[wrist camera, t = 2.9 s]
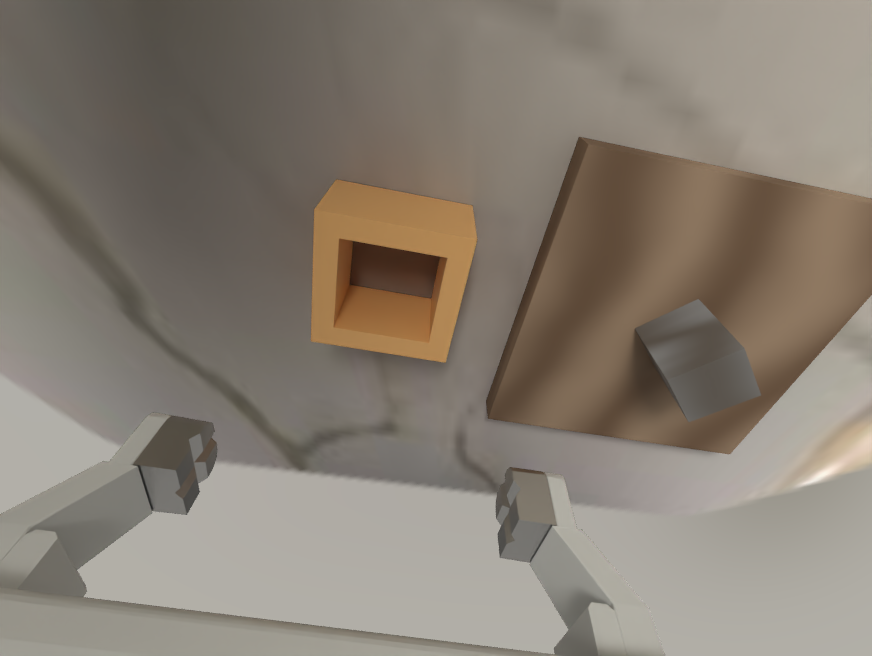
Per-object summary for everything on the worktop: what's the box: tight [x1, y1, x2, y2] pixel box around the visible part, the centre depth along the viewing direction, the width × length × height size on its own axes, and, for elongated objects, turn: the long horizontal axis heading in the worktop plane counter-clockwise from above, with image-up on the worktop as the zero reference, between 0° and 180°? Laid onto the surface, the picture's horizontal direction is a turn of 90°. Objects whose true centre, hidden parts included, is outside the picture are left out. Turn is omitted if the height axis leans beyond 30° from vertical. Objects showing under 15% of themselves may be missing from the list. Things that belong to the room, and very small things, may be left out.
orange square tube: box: [311, 179, 477, 363], centre depth 20 cm, size 6×6×4 cm
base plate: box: [486, 137, 872, 454], centre depth 21 cm, size 16×16×6 cm
